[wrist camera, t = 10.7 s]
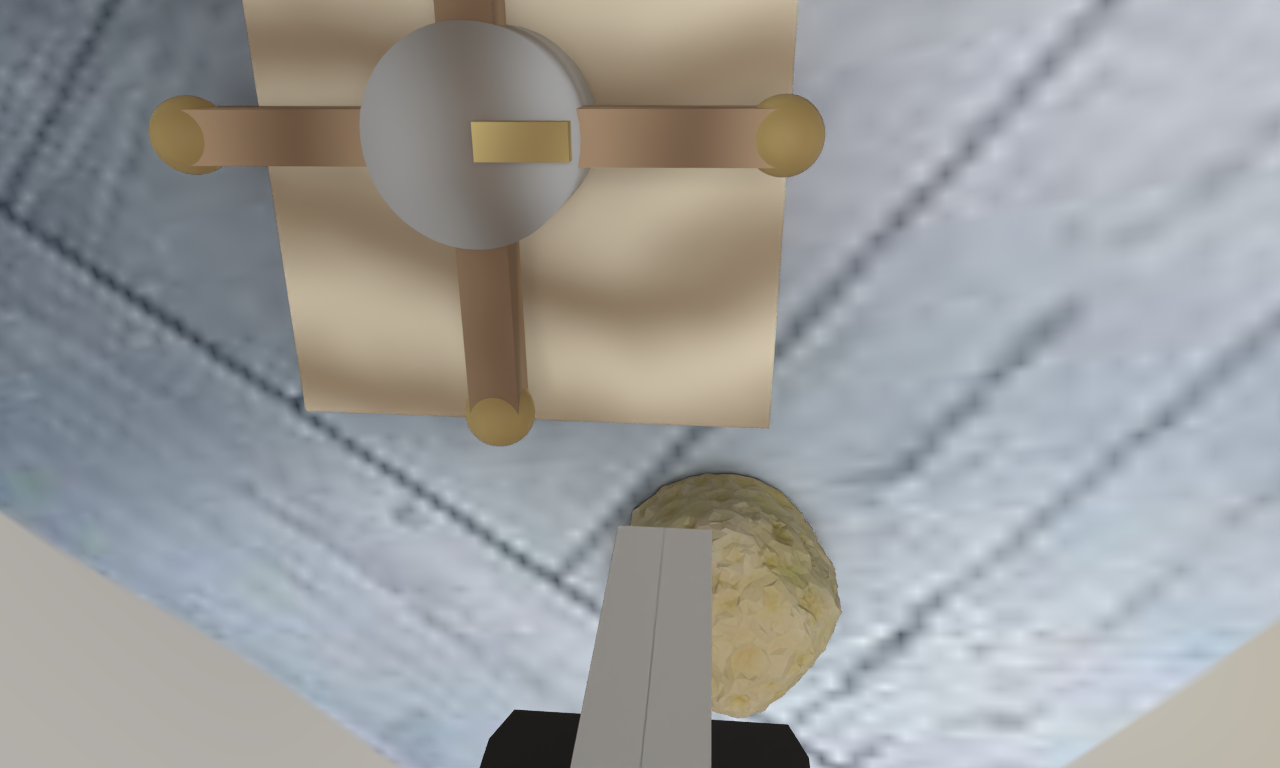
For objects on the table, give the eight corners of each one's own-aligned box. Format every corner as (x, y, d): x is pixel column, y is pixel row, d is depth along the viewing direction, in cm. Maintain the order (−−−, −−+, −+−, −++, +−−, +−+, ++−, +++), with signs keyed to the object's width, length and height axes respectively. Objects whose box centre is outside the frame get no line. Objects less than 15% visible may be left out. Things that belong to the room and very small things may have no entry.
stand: (199, -389, 28) (144, -436, 25) (821, -410, 26) (834, -462, 24) (316, 397, 38) (286, 424, 35) (767, 413, 37) (771, 442, 34)
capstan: (263, 400, 36) (188, 458, 31) (146, -229, 28) (17, -292, 23) (793, 413, 35) (807, 478, 29) (838, -252, 26) (868, -326, 21)
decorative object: (725, 602, 45) (856, 732, 37) (555, 624, 39) (666, 782, 31) (773, 443, 42) (924, 546, 34) (598, 442, 37) (730, 565, 29)
